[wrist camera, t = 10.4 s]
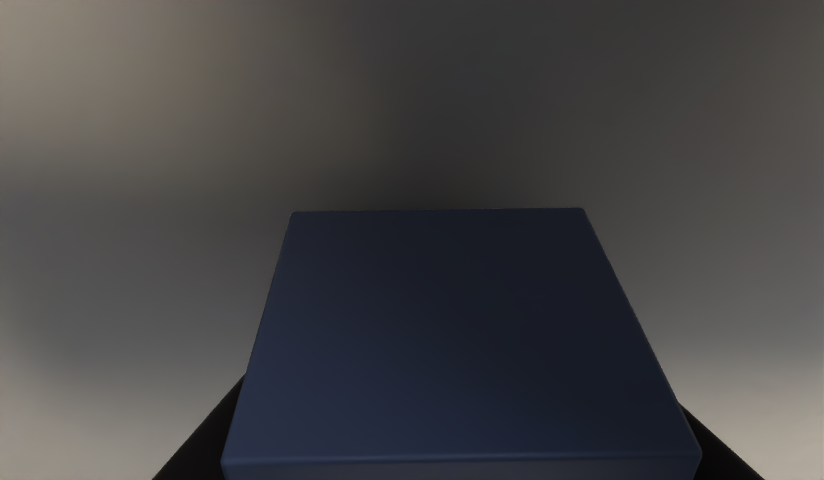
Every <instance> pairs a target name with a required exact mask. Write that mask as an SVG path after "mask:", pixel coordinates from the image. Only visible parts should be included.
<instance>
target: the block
mask: <svg viewBox="0 0 824 480" xmlns="http://www.w3.org/2000/svg"><path fill="white" fill-rule="evenodd" d="M701 458H702V450H701V448H700V446H699V444H698V441H697V439H696V437H695V435H694V433H693V431H692V429H691V427H690V425H689V423H688V421H687V419H686V417H685V415H684V413H683V411H682V409H681V407H680V405H679V403H678V401H677V399H676V397H675V395H674V392H673V390H672V388H671V386H670V384H669V382H668V380H667V378H666V376H665V374H664V372H663V370H662V368H661V366H660V364H659V362H658V360H657V358H656V356H655V354H654V352H653V350H652V348H651V346H650V343H649V341H648V339H647V337H646V335H645V333H644V331H643V329H642V327H641V325H640V323H639V321H638V319H637V317H636V315H635V313H634V311H633V309H632V307H631V305H630V303H629V301H628V299H627V297H626V294H625V292H624V290H623V288H622V286H621V284H620V282H619V280H618V278H617V276H616V274H615V272H614V270H613V268H612V266H611V264H610V262H609V260H608V258H607V256H606V254H605V252H604V250H603V248H602V245H601V243H600V241H599V239H598V237H597V235H596V233H595V231H594V229H593V227H592V225H591V223H590V221H589V219H588V217H587V215H586V213H585V211H584V209H583V208H580V207H571V208H502V209H434V210H365V211H296V212H292V213H291V216H290V219H289V223H288V226H287V230H286V233H285V237H284V240H283V244H282V247H281V251H280V254H279V258H278V261H277V265H276V268H275V272H274V275H273V279H272V282H271V286H270V289H269V293H268V296H267V300H266V303H265V307H264V310H263V314H262V317H261V321H260V324H259V328H258V331H257V335H256V338H255V342H254V345H253V349H252V352H251V356H250V359H249V363H248V366H247V370H246V373H245V377H244V380H243V384H242V387H241V391H240V395H239V398H238V402H237V405H236V409H235V412H234V416H233V419H232V423H231V426H230V430H229V433H228V437H227V440H226V444H225V447H224V451H223V454H222V458H221V461H220V462H221V467H222V470H223V473H224V477H225V480H693V478H694V475H695V473H696V470H697V468H698V465H699V463H700V461H701Z"/></svg>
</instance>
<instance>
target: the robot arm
mask: <svg viewBox="0 0 824 480" xmlns="http://www.w3.org/2000/svg"><path fill="white" fill-rule="evenodd" d="M244 377H245V374H244V375H243V376H242V377H241V379H240V380H239V381H238V382H237V383H236V384H235V385H234V387H233V388H232V389H231V390H230V391H229V392H228V393H227V395H226V396H225V397H224V398H223V399H222V400H221V401H220V403H219V404H218V405H217V406H216V407H215V408H214V409H213V411H212V412H211V413H210V414H209V415H208V416H207V417H206V419H205V420H204V421H203V422H202V423H201V424H200V425H199V426H198V428H197V429H196V430H195V431H194V432H193V433H192V434H191V436H190V437H189V438H188V439H187V440H186V441H185V442H184V444H183V445H182V446H181V447H180V448H179V449H178V450H177V452H176V453H175V454H174V455H173V456H172V457H171V458H170V460H169V461H168V462H167V463H166V464H165V465H164V466H163V467H162V469H161V470H160V471H159V472H158V473H157V474H156V475H155V477H154V478H153V479H152V480H225V477H224V473H223V470H222V467H221V462H220V461H221V458H222V454H223V451H224V447H225V444H226V440H227V437H228V433H229V430H230V426H231V423H232V419H233V416H234V412H235V409H236V405H237V402H238V398H239V395H240V391H241V387H242V384H243V380H244ZM678 403H679V402H678ZM679 405H680V407H681V409H682V411H683V413H684V415H685V417H686V419H687V421H688V423H689V425H690V427H691V429H692V431H693V433H694V435H695V437H696V439H697V441H698V444H699V446H700V448H701V450H702V458H701V461H700V463H699V465H698V468H697V470H696V473H695V475H694V478H693V480H765V479H763V478H762V477H761V476H760V475H759V474H758V473H757V472H756V471H755V470H753V469H752V468H751V467H750V466H749V465H748V464H747V463H746V462H744V461H743V460H742V459H741V458H740V457H739V456H738V455H737V454H736V453H734V452H733V451H732V450H731V449H730V448H729V447H728V446H727V445H726V444H724V443H723V442H722V441H721V440H720V439H719V438H718V437H717V436H715V435H714V434H713V433H712V432H711V431H710V430H709V429H708V428H707V427H705V426H704V425H703V424H702V423H701V422H700V421H699V420H698V419H697V418H695V417H694V416H693V415H692V414H691V413H690V412H689V411H688V410H686V409H685V408H684V407H683V406H682V405H681V404H680V403H679Z"/></svg>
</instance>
